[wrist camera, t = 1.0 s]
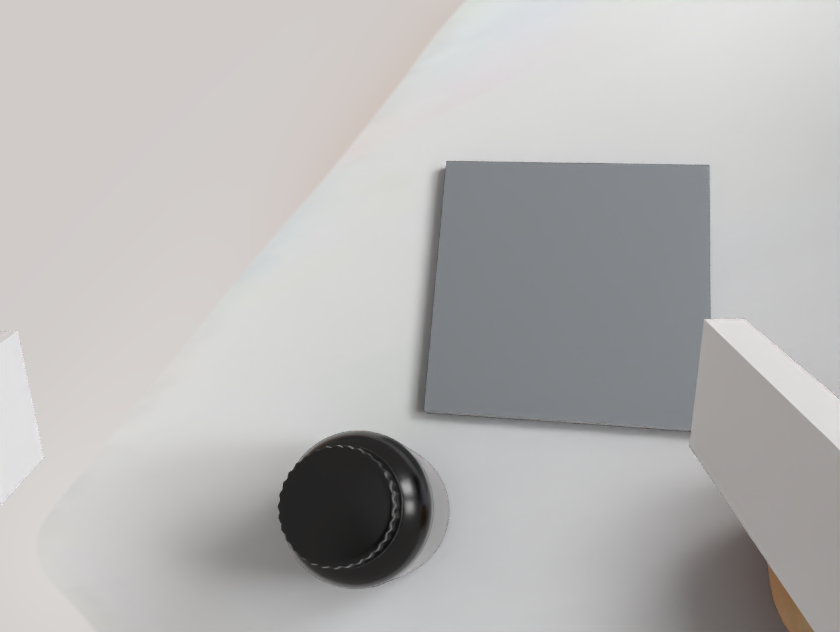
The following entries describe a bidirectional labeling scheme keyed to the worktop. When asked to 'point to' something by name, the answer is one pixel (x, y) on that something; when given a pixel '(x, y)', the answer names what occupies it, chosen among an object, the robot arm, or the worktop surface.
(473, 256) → the slate tile
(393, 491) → the supplement bottle
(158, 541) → the worktop surface
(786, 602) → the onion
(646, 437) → the worktop surface
